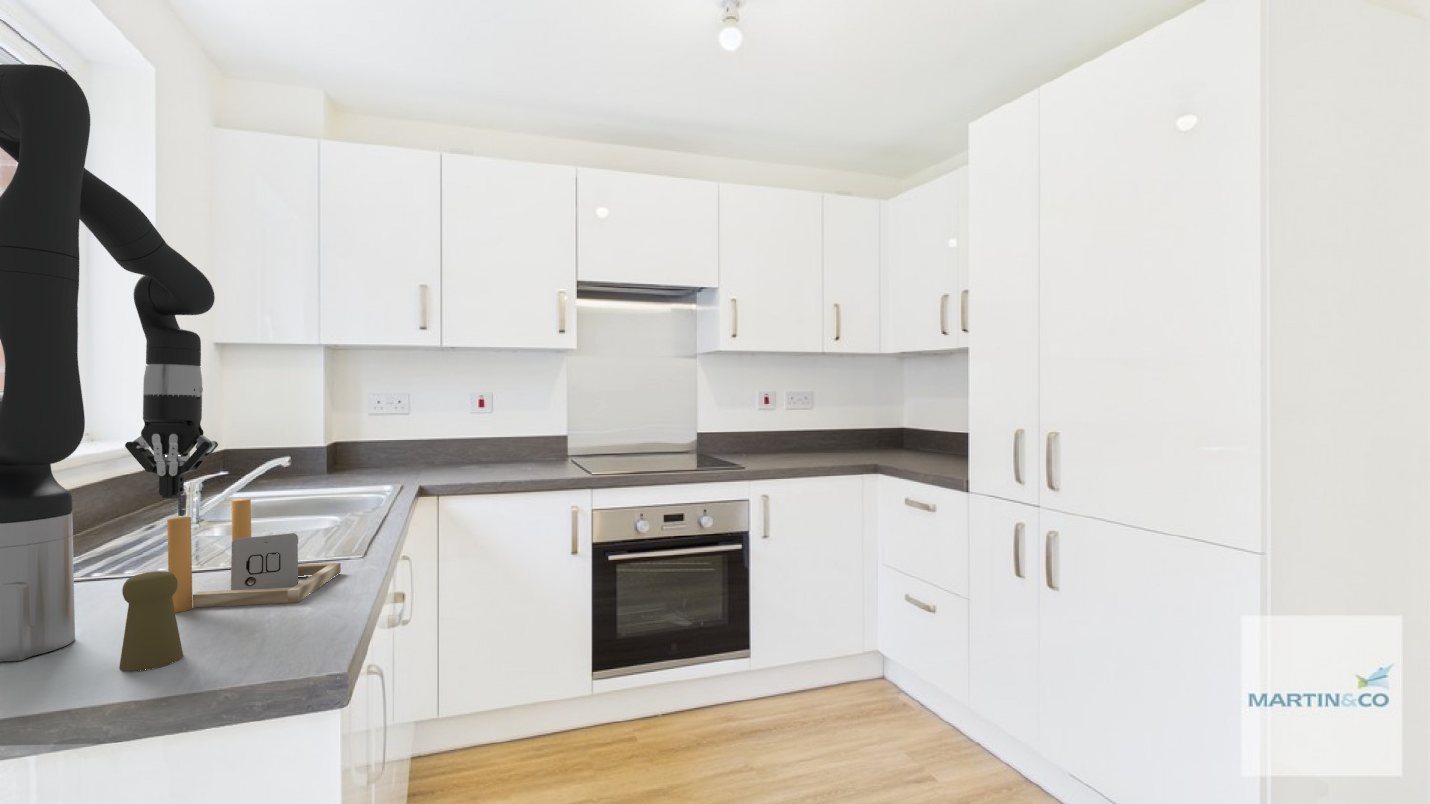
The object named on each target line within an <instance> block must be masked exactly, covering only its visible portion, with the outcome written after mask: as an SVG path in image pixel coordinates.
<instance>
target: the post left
mask: <svg viewBox="0 0 1430 804" xmlns="http://www.w3.org/2000/svg"><path fill="white" fill-rule="evenodd" d="M166 521H167V526H166V527H167V561H168V562H167V568H168V569H167V570H168V571H167V572H171V573H173V574H174V576H175V577H176V578H177V581H178V586H177V590H176V592H175V593H174V595H173V596H172V599H173V605H174V610H175V614H176V613H183V612H186V611H190V610H192V609H193V608H194V607H193V563H192V562H193V560H192V559H193V558H192V553H193V552H192V551H193V550H192V549H193V548H192V517H191V516H178V517H172V518H168V519H166Z"/></svg>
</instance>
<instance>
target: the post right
mask: <svg viewBox="0 0 1430 804" xmlns="http://www.w3.org/2000/svg"><path fill="white" fill-rule="evenodd" d="M251 505H252V501H251V498H240V499H232V500H231V543H232V542H233V541H234V540H235V539H238V538H248V537H252V506H251Z"/></svg>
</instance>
